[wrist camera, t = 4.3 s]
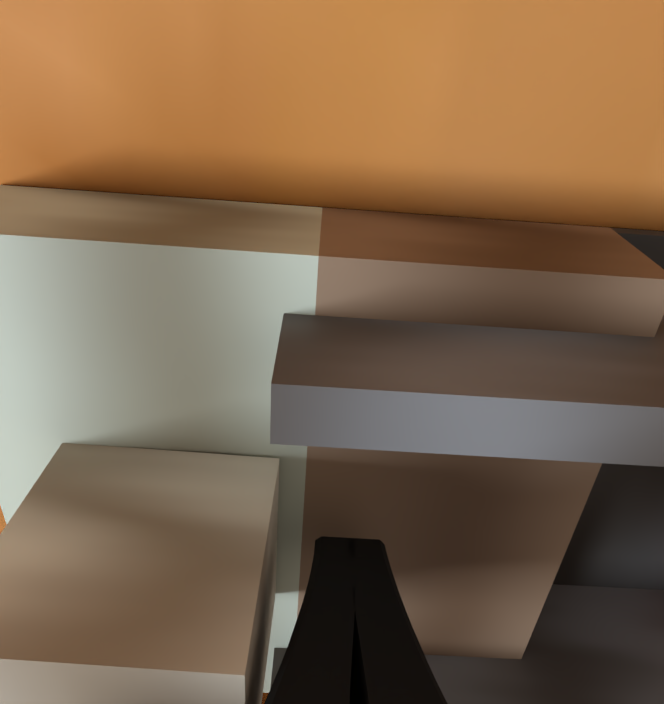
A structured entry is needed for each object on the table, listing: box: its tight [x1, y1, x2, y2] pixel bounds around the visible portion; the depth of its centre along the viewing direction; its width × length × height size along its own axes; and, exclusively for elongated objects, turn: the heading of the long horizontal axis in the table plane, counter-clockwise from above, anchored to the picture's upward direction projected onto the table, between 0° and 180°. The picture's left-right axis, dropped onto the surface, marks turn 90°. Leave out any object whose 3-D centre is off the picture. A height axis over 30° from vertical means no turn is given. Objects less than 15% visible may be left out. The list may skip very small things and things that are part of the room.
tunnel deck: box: [0, 185, 664, 704], centre depth 12 cm, size 18×12×4 cm, turn 86°
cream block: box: [0, 443, 280, 704], centre depth 10 cm, size 4×4×4 cm
